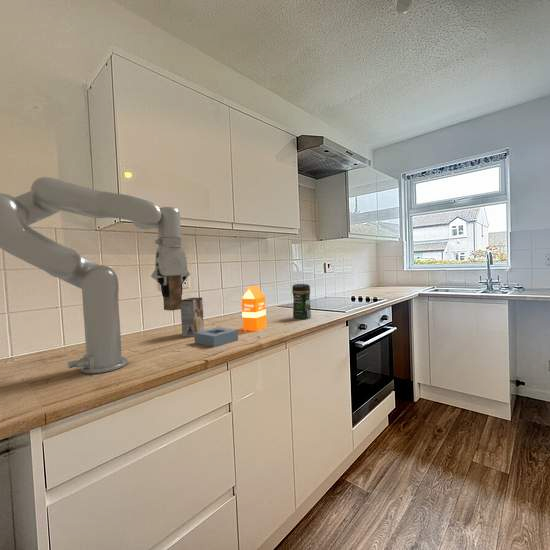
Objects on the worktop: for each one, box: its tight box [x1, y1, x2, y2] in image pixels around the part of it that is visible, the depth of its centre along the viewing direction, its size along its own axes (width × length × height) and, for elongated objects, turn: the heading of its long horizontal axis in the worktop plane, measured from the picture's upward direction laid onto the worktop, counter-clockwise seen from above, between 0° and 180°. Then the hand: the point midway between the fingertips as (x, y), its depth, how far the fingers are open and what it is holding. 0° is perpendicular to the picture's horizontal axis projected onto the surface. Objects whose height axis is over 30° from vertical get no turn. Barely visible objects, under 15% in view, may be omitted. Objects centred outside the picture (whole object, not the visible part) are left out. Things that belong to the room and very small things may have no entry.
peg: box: [162, 276, 183, 312], centre depth 105 cm, size 4×4×14 cm
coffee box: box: [180, 296, 205, 337], centre depth 134 cm, size 9×6×16 cm
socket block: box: [194, 326, 239, 348], centre depth 119 cm, size 12×12×4 cm
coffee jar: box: [291, 283, 312, 320], centre depth 163 cm, size 10×8×19 cm
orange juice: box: [241, 285, 267, 332], centre depth 140 cm, size 8×9×20 cm
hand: (172, 295), depth 105 cm, fingers closed on peg, 4 cm apart
